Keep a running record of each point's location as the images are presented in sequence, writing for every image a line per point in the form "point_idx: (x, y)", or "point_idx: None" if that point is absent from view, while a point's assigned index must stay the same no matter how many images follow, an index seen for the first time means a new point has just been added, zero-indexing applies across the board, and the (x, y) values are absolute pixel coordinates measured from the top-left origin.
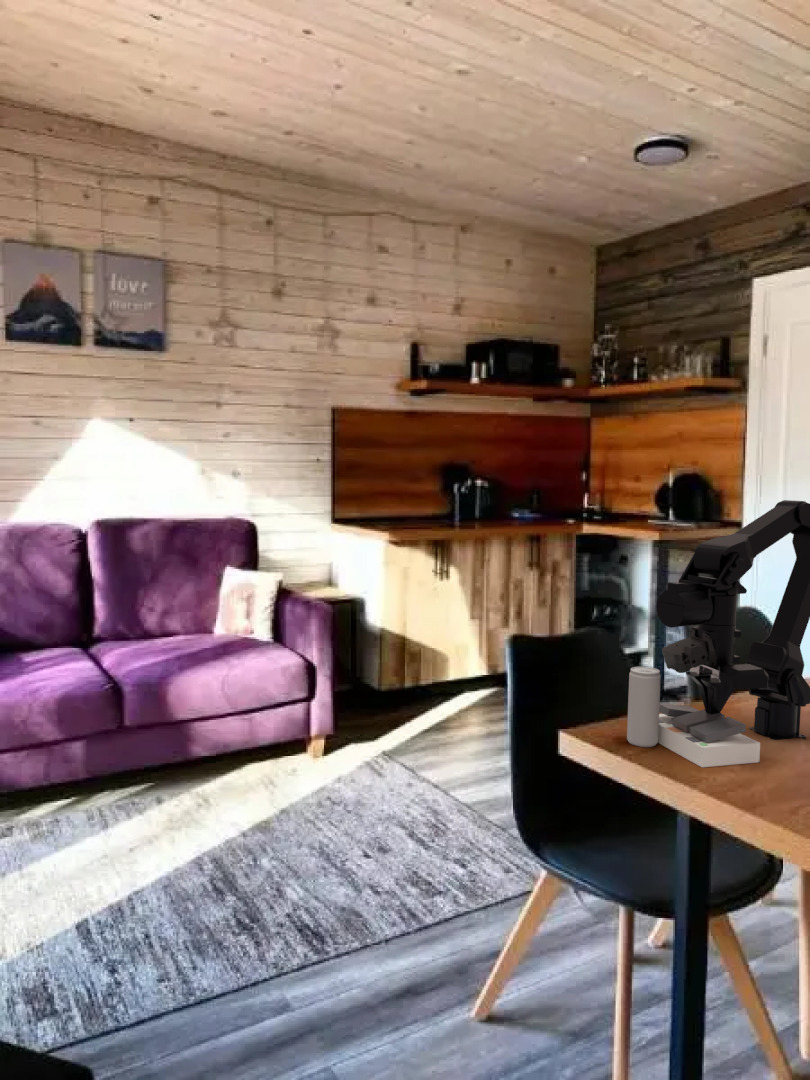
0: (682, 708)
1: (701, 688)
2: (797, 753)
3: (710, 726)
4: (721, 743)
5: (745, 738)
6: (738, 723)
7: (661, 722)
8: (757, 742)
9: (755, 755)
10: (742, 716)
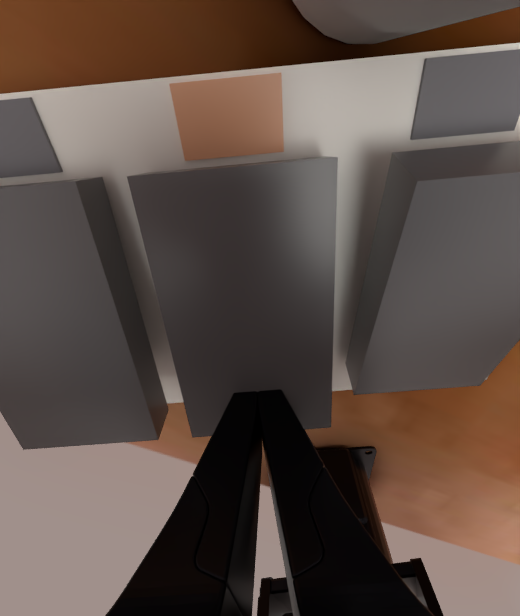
0: (441, 320)
1: (327, 557)
2: (171, 451)
3: (42, 306)
4: None
5: None
6: (42, 432)
7: (416, 108)
8: None
9: None
10: (460, 467)
